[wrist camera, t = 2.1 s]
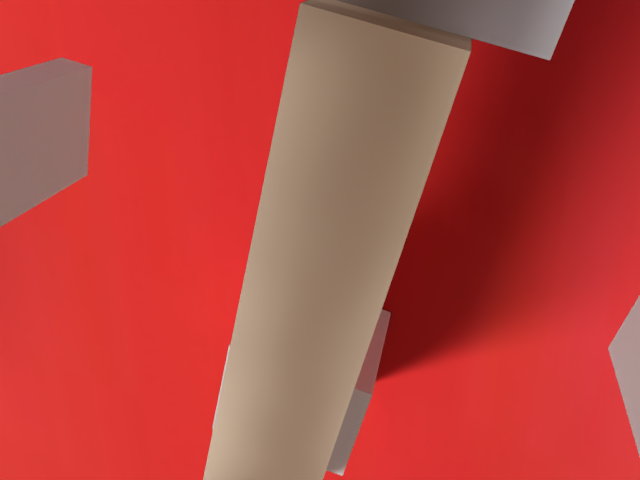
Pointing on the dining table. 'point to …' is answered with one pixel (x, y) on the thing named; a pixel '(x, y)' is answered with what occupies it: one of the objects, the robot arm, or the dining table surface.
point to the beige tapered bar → (344, 211)
